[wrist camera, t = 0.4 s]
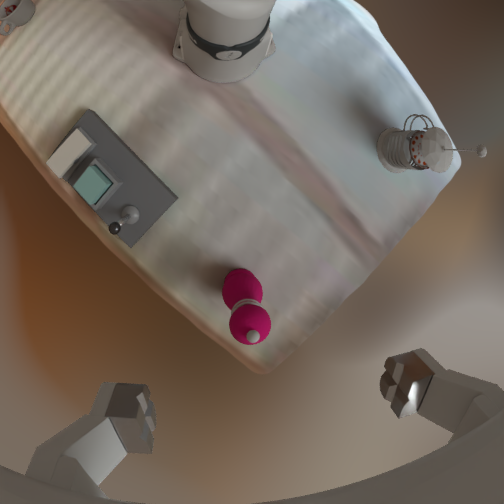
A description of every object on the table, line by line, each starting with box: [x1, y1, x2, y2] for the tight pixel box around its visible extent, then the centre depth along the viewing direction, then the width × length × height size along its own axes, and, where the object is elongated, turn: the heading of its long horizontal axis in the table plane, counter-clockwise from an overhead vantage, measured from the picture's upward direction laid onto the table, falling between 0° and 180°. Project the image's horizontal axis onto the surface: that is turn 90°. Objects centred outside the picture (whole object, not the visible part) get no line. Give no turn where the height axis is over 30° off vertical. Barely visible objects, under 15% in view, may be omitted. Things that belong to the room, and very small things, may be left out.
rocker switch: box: [46, 129, 92, 178], centre depth 41 cm, size 4×8×2 cm, turn 132°
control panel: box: [48, 109, 178, 248], centre depth 45 cm, size 24×12×6 cm, turn 42°
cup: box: [0, 0, 35, 36], centre depth 29 cm, size 11×8×8 cm
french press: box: [377, 114, 487, 173], centre depth 41 cm, size 10×12×25 cm
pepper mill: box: [222, 269, 271, 345], centre depth 47 cm, size 7×7×20 cm
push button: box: [73, 166, 112, 205], centre depth 42 cm, size 4×4×3 cm
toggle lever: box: [109, 214, 131, 234], centre depth 44 cm, size 2×2×6 cm
